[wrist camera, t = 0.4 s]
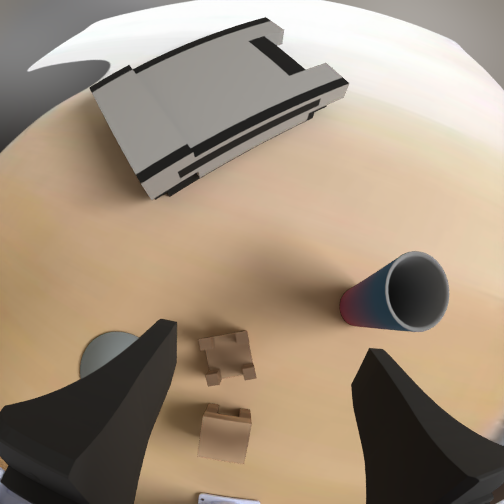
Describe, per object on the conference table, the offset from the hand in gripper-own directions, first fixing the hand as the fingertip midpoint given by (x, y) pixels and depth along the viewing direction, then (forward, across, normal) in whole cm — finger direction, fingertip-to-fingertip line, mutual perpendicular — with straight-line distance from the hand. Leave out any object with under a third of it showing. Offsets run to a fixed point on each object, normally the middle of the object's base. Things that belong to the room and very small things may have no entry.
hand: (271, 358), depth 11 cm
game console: (+41, +10, -10) cm, 43 cm away
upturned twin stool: (+19, +2, +18) cm, 26 cm away
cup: (+24, -13, +11) cm, 30 cm away
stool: (+14, +1, +25) cm, 28 cm away
